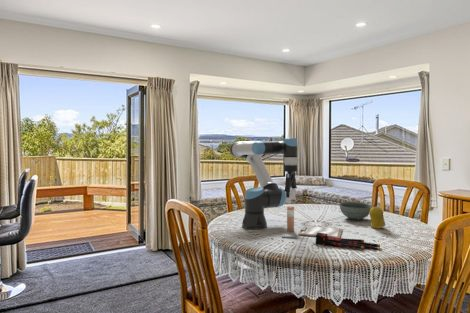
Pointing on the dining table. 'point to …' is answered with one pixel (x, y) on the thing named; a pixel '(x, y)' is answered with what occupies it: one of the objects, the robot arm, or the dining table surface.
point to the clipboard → (320, 231)
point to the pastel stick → (290, 218)
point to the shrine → (376, 217)
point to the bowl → (355, 210)
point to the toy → (345, 242)
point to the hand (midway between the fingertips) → (290, 201)
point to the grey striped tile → (289, 235)
